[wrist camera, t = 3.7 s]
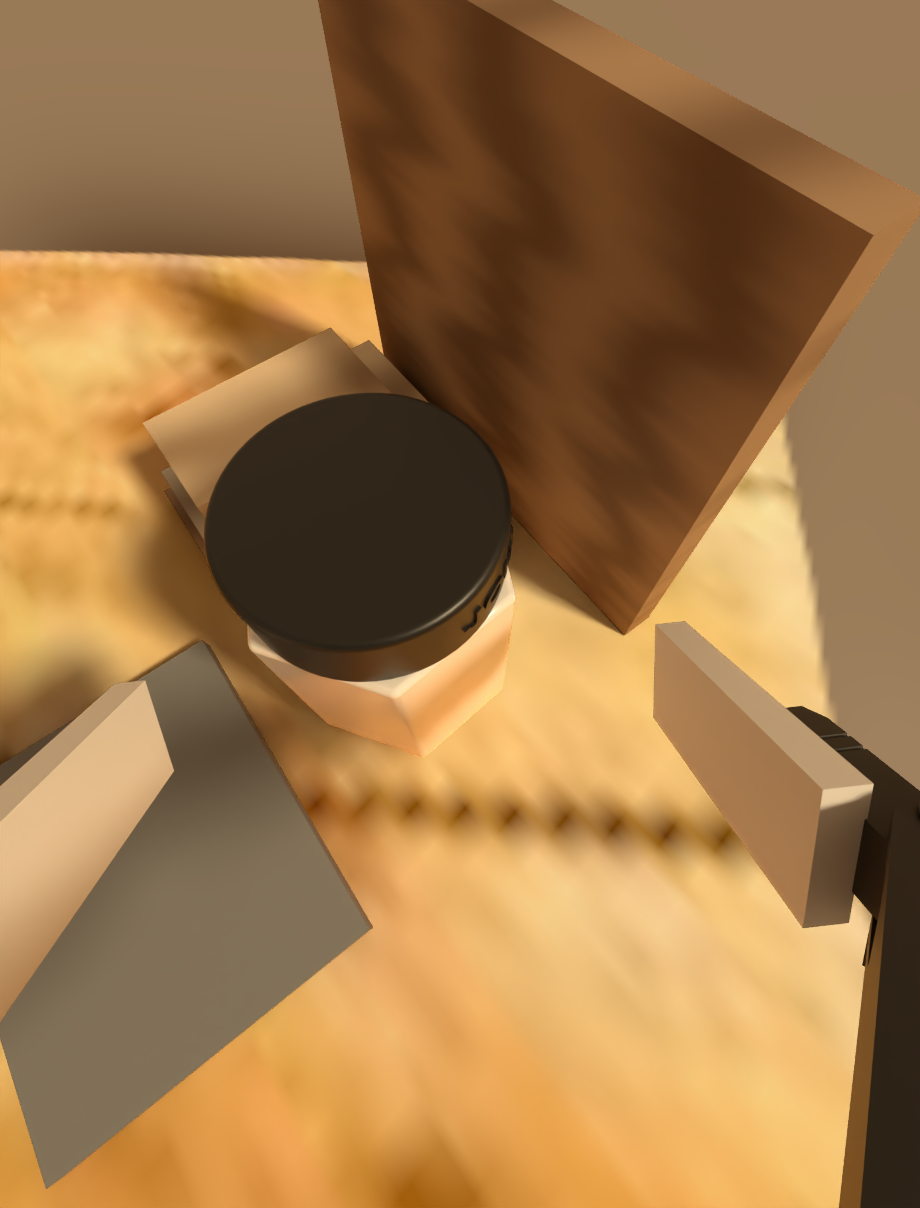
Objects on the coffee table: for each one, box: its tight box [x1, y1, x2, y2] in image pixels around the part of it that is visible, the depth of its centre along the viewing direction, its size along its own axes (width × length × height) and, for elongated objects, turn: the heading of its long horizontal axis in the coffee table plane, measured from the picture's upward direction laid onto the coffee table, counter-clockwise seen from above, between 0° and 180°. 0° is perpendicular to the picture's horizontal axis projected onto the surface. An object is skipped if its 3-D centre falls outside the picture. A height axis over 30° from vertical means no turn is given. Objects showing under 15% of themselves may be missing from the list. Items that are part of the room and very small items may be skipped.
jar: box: [204, 393, 516, 757], centre depth 20 cm, size 9×8×12 cm
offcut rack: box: [143, 0, 920, 635], centre depth 20 cm, size 20×15×18 cm
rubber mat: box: [0, 640, 373, 1189], centre depth 22 cm, size 14×12×1 cm
